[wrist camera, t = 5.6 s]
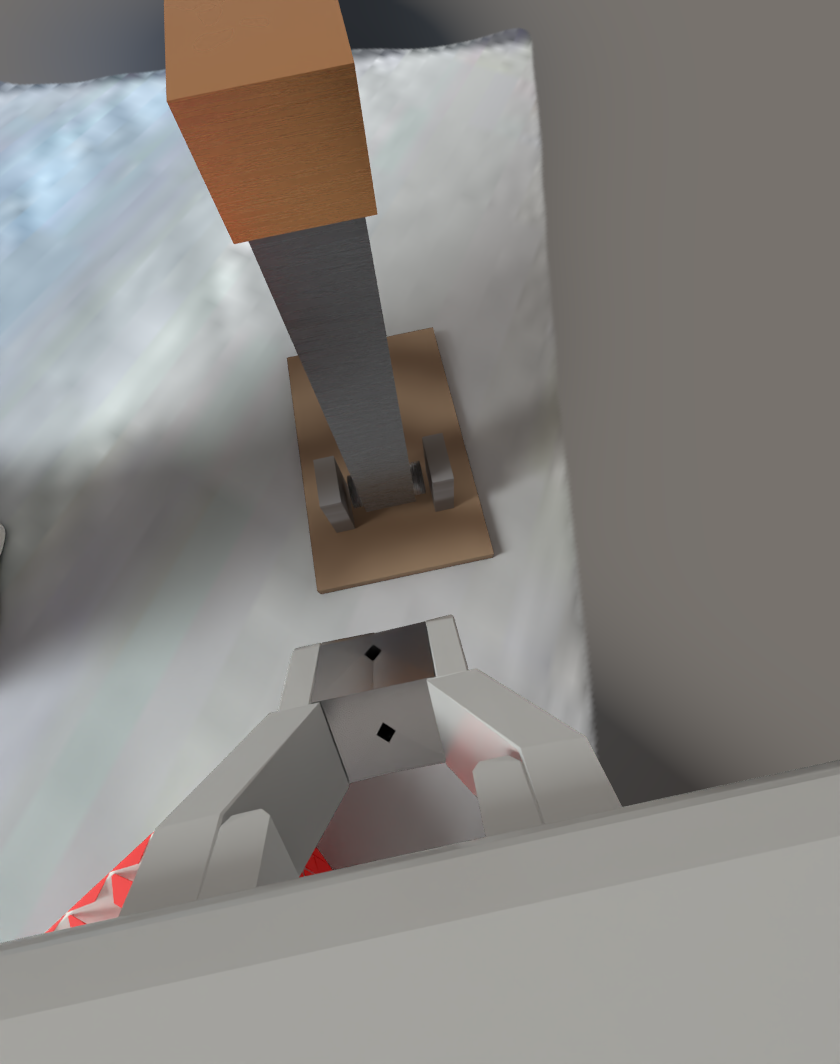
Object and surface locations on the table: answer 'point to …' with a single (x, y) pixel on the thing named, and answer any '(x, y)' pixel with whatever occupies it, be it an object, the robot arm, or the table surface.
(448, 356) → the table surface
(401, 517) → the lever base
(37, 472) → the table surface
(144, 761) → the table surface
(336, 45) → the lever
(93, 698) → the table surface
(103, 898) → the puzzle cube
